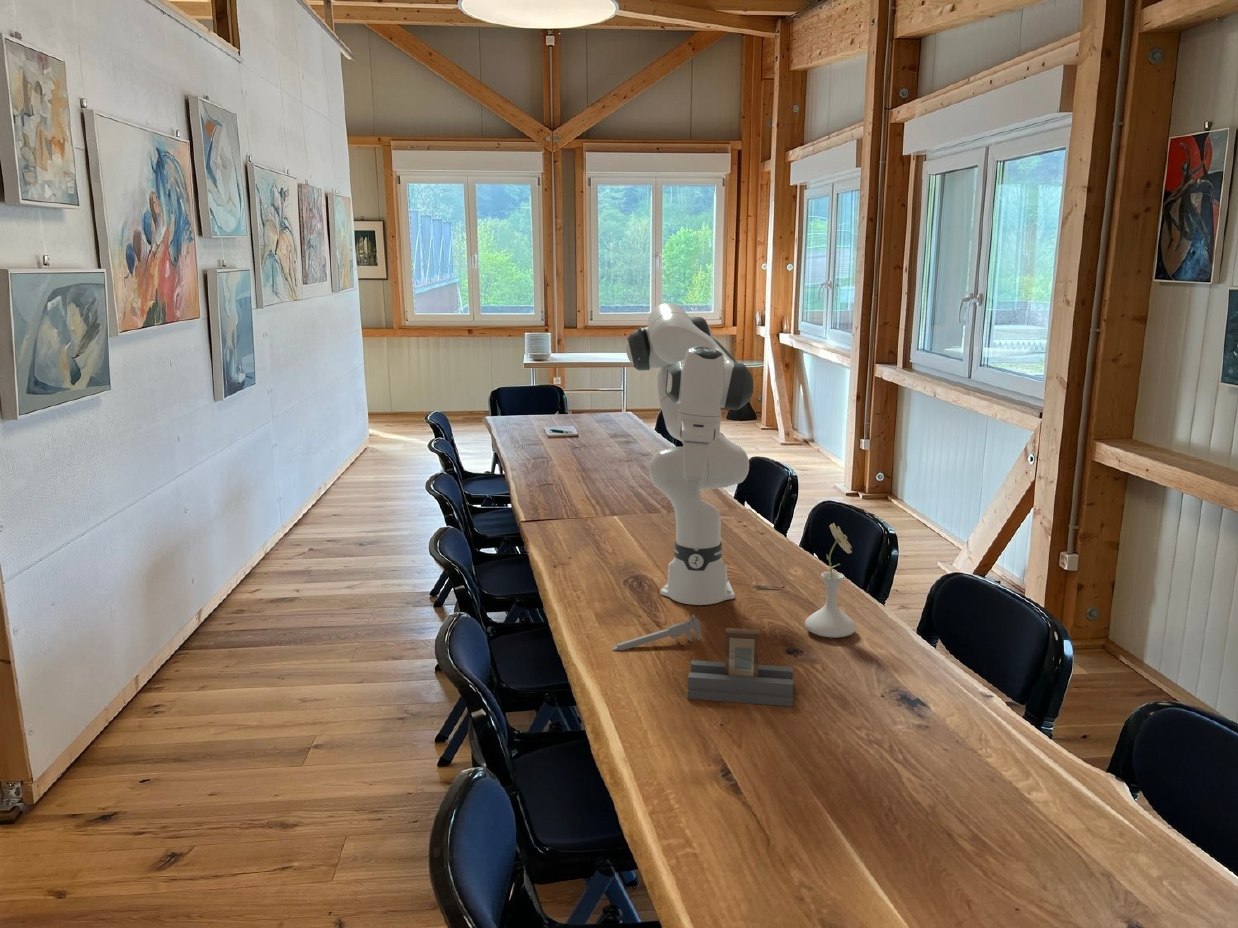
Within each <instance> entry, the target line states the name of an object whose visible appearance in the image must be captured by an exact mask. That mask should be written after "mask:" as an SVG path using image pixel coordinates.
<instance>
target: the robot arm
mask: <svg viewBox="0 0 1238 928" xmlns="http://www.w3.org/2000/svg"><path fill="white" fill-rule="evenodd" d="M625 348H626V349H625V351H626V356H627V358H628V361H629V362H630V364H631V365H632V366H633V368H634V369H636V370H637V371H650V369H651V370H653V369H658V370H657V376H656V384H657V386H656V387H657V394H658V399H659V405H660V408H661V412H662V417H663V419H664V424H665V428H666V430H667V432H668V433H669V435H670V436H671V437H673V438H674V439H676V440H678V441H680V442H681V443H682V446H672V447H669V448H665V449H662V450H661V449H660V450H658V451H656V452H654V454H653V455H652V457H651V458H650V461H649V464H648V475H649V478H650V480H651V482H652V484H653V485H654V486H655V487H656V488H657V489H658V490H659V491H661V492H662V493H663V494H664V495H665V496H666V497H667V498H668V500H669V501H670V503H671V505H672V507H673V510H674V516H675V530H676V531H675V532H676V535H675V537H676V539H675V541H674V547H673V550H674V551H673V552H674V554H673V556H674V558H673V559H672V560H671V561H670V562H669V563H668V567H667V568H668V571H667V583H666V584H665V585H664V586H663V587H662V588H661V589H660V595H662V596H665V597H668V598H669V599H671V600H673V601H675V602H677V603H681V604H686V605H692V606H693V605H694V606H702V605H703V606H705V605H706V606H708V605H713V604H718V603H721V602H723V601H726V600H733V599H735V597H736V596H735V592H734V589H733V588H732V586H731V582H730V580H729V577H728V565H726V563H725V562H724V561H723V559H722V558H723V546H722V545H723V543H722V541H721V530H722V529H721V527H722V525H721V524H722V523H721V518H722V517H721V514H720V512H719V510H718V508H716V507H715V506H714V505H713V504H711V503H708V502H706V501H704V500H702V498H701V490H711V489H721V488H722V489H723V488H728V487H732V486H736V485H738V484H741V483H743V482H744V481H745V480H746V478H747V476H748V474H749V471H750V460H749V457H748V455H747V452H746V451H745V450H744V449H743V448H742V446H739V445H738V444H736V443H734V442H732V441H731V440H730V439H728V438H726V437H725V436H724V435H723V434H722V433H721V432H720V431H721V430H720V429H721V423H722V410H721V409H726V410H732V411H739V410H740V409H741V408H743V407H744V406H746V404H748V403H749V402H750V401H751V399H752V398H753V397H752V396H753V394H754V393H753V392H754V379H753V374H752V372H751V371H750V369H749V368H748V367H747V366H746V365H745V364H744V363H743V362H738V361H737V360H736V359H735V358H734V357H733V356H732V355H731V353H730V352H729V351H728V350H727V349H726V348H725V347H724V345H722V343H721V342H720V341H718V340H717V339H715V338H714V336H713V332H712V329H711V326H710V325H709V324H708V322H707V320H706V319H704V317H703V316H702V317H701V316H689V315H688V313H687V312H686V311H685V310H684V309H683V308H682V307H680V306H679V305H677V304H674V303H672V302H664V303H660V304H659V305H657V306H655V307H654V308H652V311H651V312H650V314H649V317H648V321H647V326H646V327H641V326H640V327H639V328H637V329H636V330H634V331H632V332H631V333H630V334H629V335H628V337H627V341H626V347H625Z"/></svg>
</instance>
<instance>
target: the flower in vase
mask: <svg viewBox="0 0 1238 928" xmlns="http://www.w3.org/2000/svg"><path fill="white" fill-rule="evenodd" d="M829 528H830V531H831V533H832V536H833V538H834V539H835V542H834V543H833V545H832V547H831V549H830V552H829V555H828V554H826V559H827V560H828V562H829V563H828V564H829V568H828V569H829V571H825V572H822V573H821V574H820V575H821V577H822V579H823V580H824V583H825V587H826V600H825V604H824V605H823V606H822V607H821V608H819V609H818V610H817V611H815V612H813V613H811V614H810V615H809V616H808V617H807V618H806V620H805V621H804V626H805V627H806V629H807V631H809V632H811V633H813V634H814V635H817V636H820V637H824V638H825V637H826V638H833V639H834V638H837V639H839V638H844V637H847V636H851V635H852V634H854V633H855V631H856V629H857V627H856V624H855V621H854V620H853V619H852V618H851V617H850V616H848V615H847V614H846V613H845V612H844V611H842V610H841V609H840V608H839V606H838V603H837V598H838V597H837V596H838V590H839V585H840V583H841V582H842V580H843V579H844V578H845V575H844V574H843V573H841V572H836V571H833V568H835V567H837V566H841V563H839V562H838V563H837V564H835V565H833V566H832V562H831V557H832V553H833V551H834V548H835V546H836V544H838V545H839V547H841V548H842V550H843V551H845V552H846V553H847V554H852V553H853V551H852V550H851V549H853V548H852V547H853V546H852V545H851V544H850V542H849V541H848V536H847V535H845V534H844V533H843V532H842V530H841V527H840V526H839V525H838V526H836V524H835V523H834V522H833V523H831V524H830V525H829Z"/></svg>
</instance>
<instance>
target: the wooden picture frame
mask: <svg viewBox="0 0 1238 928" xmlns="http://www.w3.org/2000/svg"><path fill="white" fill-rule="evenodd" d="M724 643H725V645H724V662H725V675H734V676H748V677H758V665H759V655H760V654H759V652H760V651H759V650H760V649H759V647H760V644H759V643H760V629H752V628H751V629H749V628H748V629H747V628H736V627H735V628H732V627H726V628H725V641H724Z"/></svg>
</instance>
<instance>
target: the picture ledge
mask: <svg viewBox="0 0 1238 928" xmlns="http://www.w3.org/2000/svg"><path fill="white" fill-rule="evenodd" d="M793 669H794V668H793V666H785V665H784V666H782V665H781V666H780V665H769V664H768V665H765V664H758V677H748V676H734V675H725V661H723V662H722V661H711V660H696V659H692V660H691V663H690V671H689V672H688V676H687V692H686V693H687V697H686V698H687V699H689V700H701V701H713V702H728V703H742V704H751V705H752V704H754V705H755V704H756V705H757V704H758V705H765V706H766V705H768V706H769V705H770V706H780V707H793V706H794V705H793V703H794V701H793V700H794V698H793V697H794V680H793V675H794V674H793V673H794V672H793V671H794V670H793Z"/></svg>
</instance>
